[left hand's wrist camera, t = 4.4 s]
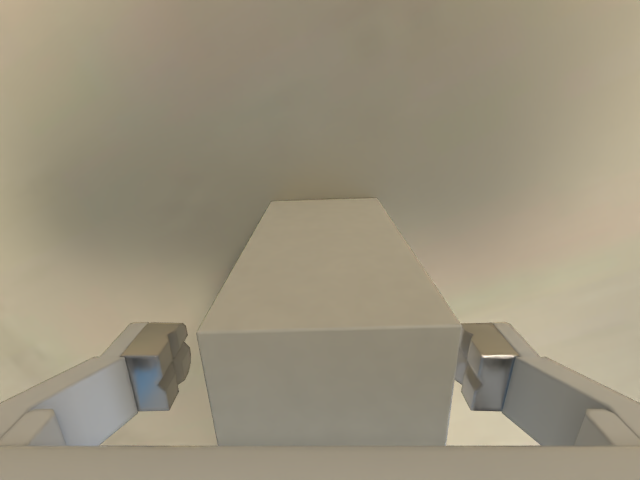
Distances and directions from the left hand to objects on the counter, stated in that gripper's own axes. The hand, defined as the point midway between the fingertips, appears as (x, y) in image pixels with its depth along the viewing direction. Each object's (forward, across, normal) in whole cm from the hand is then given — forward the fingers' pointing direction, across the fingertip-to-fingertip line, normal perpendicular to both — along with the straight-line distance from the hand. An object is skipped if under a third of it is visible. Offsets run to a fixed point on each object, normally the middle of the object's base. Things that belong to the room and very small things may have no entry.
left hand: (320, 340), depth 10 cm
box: (+10, -1, +9) cm, 13 cm away
